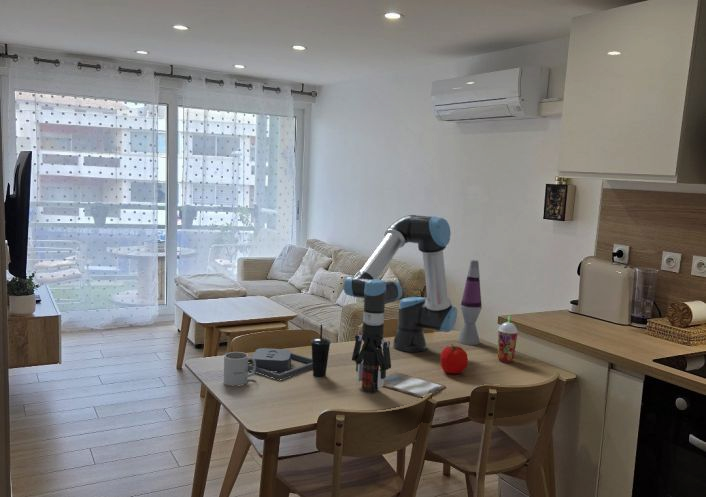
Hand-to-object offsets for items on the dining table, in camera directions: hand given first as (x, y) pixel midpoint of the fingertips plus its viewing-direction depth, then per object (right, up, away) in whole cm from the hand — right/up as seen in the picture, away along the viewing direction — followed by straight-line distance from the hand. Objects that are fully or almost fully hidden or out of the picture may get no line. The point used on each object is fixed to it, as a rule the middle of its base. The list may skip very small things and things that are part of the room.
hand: (370, 383), depth 210 cm
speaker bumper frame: (-36, +2, +22) cm, 42 cm away
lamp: (+50, +4, +70) cm, 86 cm away
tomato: (+34, -1, +24) cm, 42 cm away
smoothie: (+61, 0, +43) cm, 74 cm away
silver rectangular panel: (+15, -2, +7) cm, 17 cm away
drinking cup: (-19, 0, +13) cm, 23 cm away
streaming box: (-39, +2, +21) cm, 44 cm away
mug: (-48, 0, +3) cm, 48 cm away
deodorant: (0, -3, 0) cm, 3 cm away
